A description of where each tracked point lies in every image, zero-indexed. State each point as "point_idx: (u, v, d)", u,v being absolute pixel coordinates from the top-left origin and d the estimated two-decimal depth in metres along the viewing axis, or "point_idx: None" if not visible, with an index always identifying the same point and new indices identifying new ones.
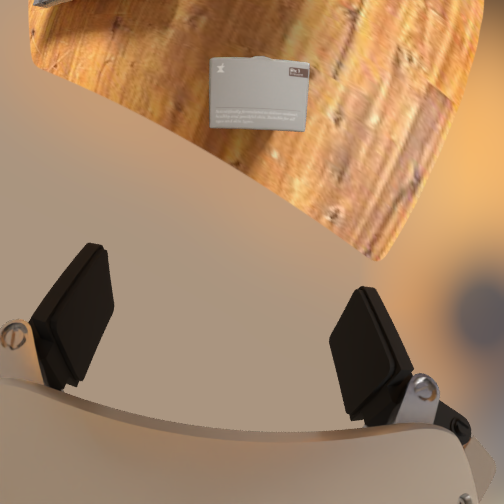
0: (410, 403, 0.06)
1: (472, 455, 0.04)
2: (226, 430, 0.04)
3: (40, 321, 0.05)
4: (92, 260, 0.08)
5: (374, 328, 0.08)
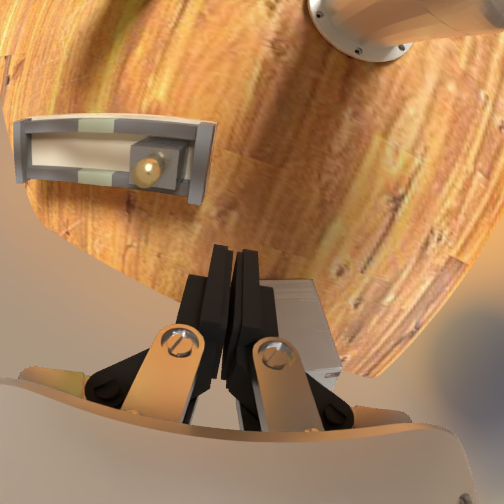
0: (269, 381, 0.06)
1: None
2: (226, 430, 0.04)
3: (213, 323, 0.07)
4: (228, 261, 0.09)
5: None
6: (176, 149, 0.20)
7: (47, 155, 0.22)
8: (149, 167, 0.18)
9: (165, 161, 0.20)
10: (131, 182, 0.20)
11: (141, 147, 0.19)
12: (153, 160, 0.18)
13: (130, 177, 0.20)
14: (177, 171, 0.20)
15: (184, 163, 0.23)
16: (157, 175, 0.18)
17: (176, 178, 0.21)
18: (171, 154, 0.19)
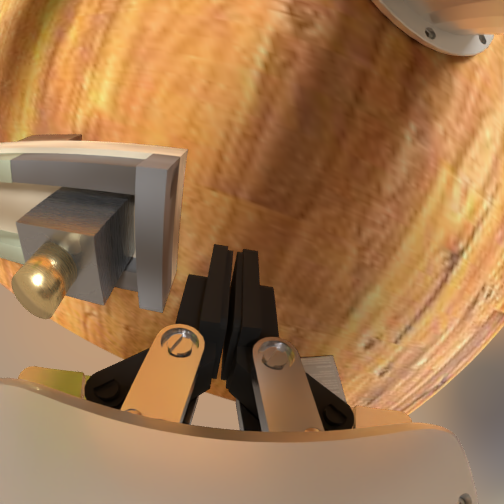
0: (269, 381, 0.06)
1: None
2: (226, 430, 0.04)
3: (213, 323, 0.07)
4: (228, 261, 0.09)
5: None
6: (90, 231, 0.08)
7: None
8: (34, 286, 0.07)
9: (75, 256, 0.09)
10: None
11: (30, 226, 0.08)
12: (44, 264, 0.07)
13: None
14: (101, 273, 0.09)
15: (124, 239, 0.11)
16: (53, 300, 0.07)
17: (102, 285, 0.10)
18: (81, 243, 0.08)
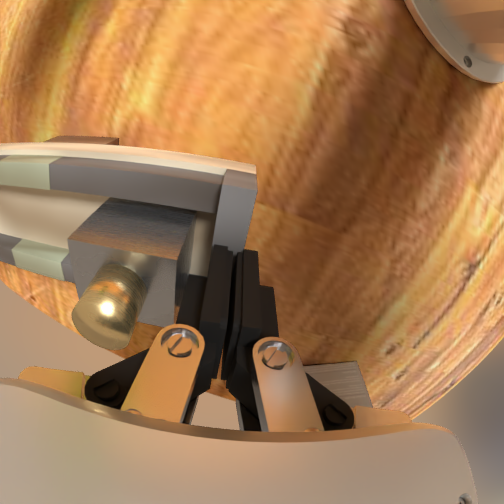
0: (269, 381, 0.06)
1: None
2: (226, 430, 0.04)
3: (213, 322, 0.07)
4: (228, 261, 0.09)
5: None
6: (169, 253, 0.09)
7: None
8: (107, 317, 0.07)
9: (147, 279, 0.09)
10: None
11: (89, 245, 0.08)
12: (116, 290, 0.07)
13: (81, 297, 0.09)
14: (175, 296, 0.09)
15: (188, 257, 0.12)
16: (130, 331, 0.07)
17: (174, 309, 0.10)
18: (158, 266, 0.08)
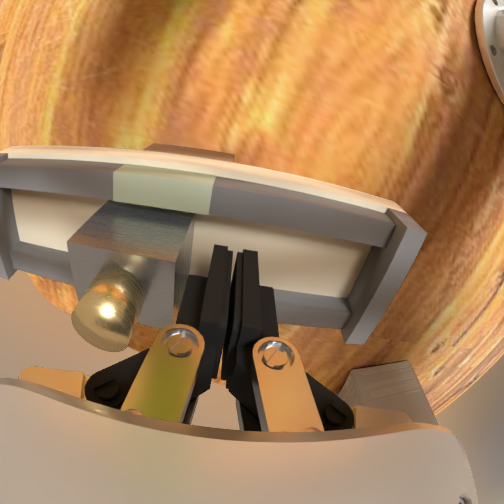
0: (269, 381, 0.06)
1: None
2: (226, 430, 0.04)
3: (213, 323, 0.07)
4: (228, 261, 0.09)
5: None
6: (168, 255, 0.09)
7: (45, 229, 0.12)
8: (107, 319, 0.07)
9: (145, 281, 0.09)
10: None
11: (88, 248, 0.08)
12: (115, 293, 0.08)
13: None
14: (174, 298, 0.09)
15: (187, 259, 0.12)
16: (129, 333, 0.07)
17: (173, 311, 0.10)
18: (157, 268, 0.08)
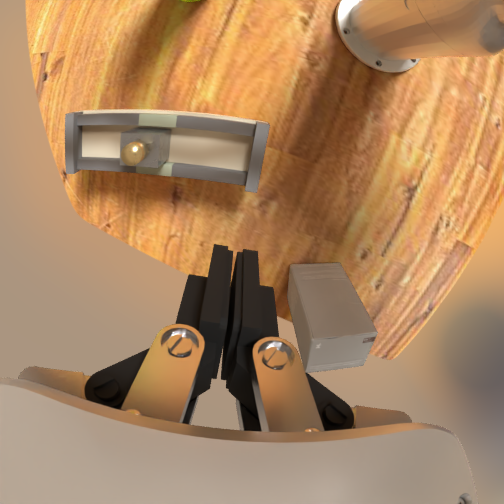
0: (269, 381, 0.06)
1: None
2: (226, 430, 0.04)
3: (213, 322, 0.07)
4: (228, 261, 0.09)
5: None
6: (158, 134, 0.23)
7: (100, 147, 0.26)
8: (135, 148, 0.21)
9: (149, 144, 0.23)
10: (121, 163, 0.24)
11: (129, 134, 0.22)
12: (138, 143, 0.22)
13: (121, 159, 0.23)
14: (159, 152, 0.24)
15: (166, 147, 0.26)
16: (141, 154, 0.22)
17: (158, 158, 0.24)
18: (153, 138, 0.23)
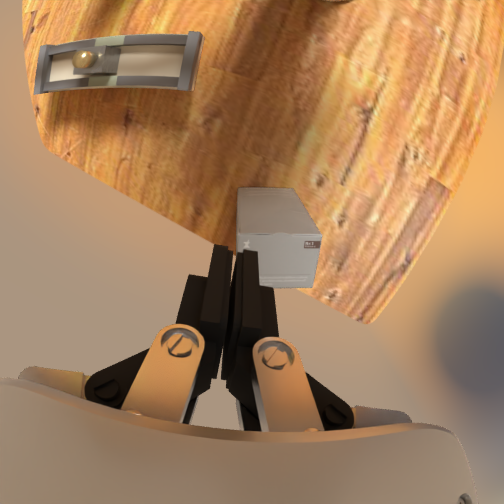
0: (269, 381, 0.06)
1: None
2: (226, 430, 0.04)
3: (213, 323, 0.07)
4: (228, 261, 0.09)
5: None
6: None
7: (64, 72, 0.23)
8: (83, 53, 0.18)
9: (97, 54, 0.20)
10: (74, 73, 0.21)
11: (83, 48, 0.19)
12: (87, 51, 0.19)
13: (74, 70, 0.21)
14: (104, 59, 0.21)
15: (114, 61, 0.23)
16: (87, 57, 0.19)
17: (103, 64, 0.21)
18: (101, 48, 0.20)
